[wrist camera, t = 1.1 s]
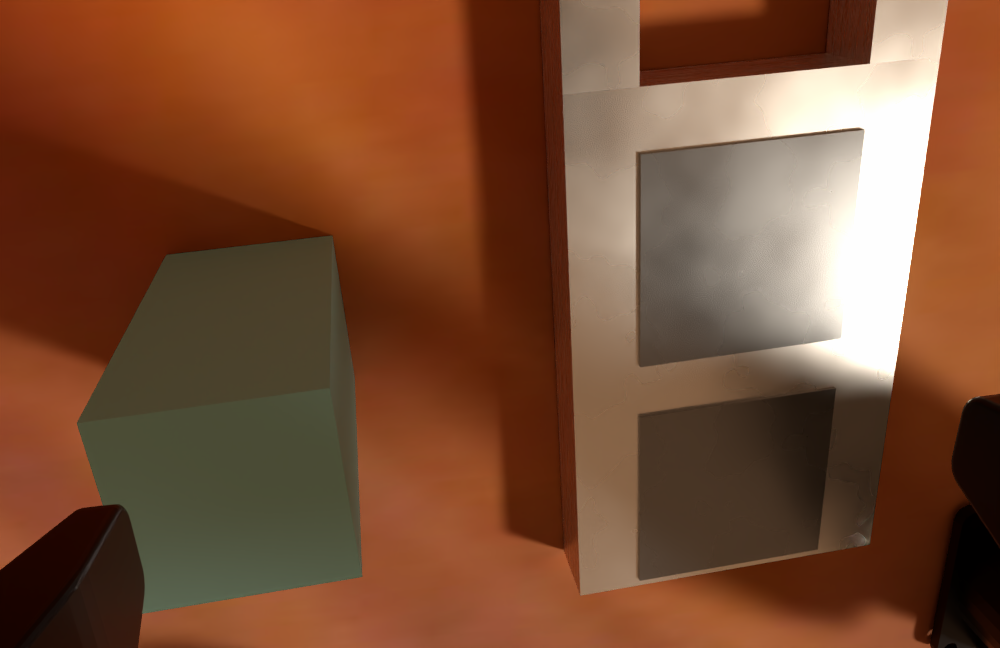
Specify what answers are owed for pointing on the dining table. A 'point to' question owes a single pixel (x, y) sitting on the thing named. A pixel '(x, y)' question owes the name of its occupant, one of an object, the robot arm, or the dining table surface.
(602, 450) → the square hole board
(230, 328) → the square peg
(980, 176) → the dining table surface
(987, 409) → the robot arm
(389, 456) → the dining table surface
